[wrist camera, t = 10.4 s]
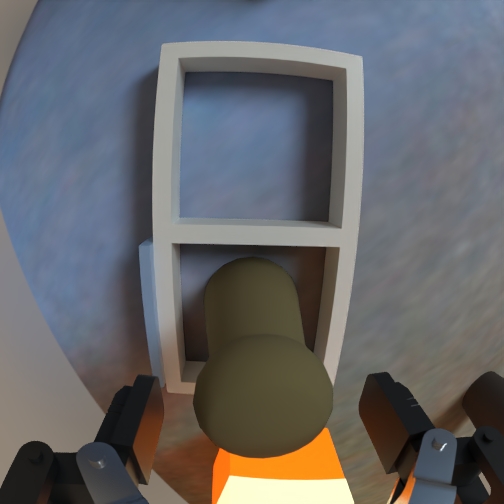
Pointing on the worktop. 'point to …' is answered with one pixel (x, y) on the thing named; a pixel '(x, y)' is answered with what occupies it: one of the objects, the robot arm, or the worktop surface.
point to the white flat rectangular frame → (249, 230)
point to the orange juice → (282, 477)
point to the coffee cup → (486, 402)
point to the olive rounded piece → (259, 365)
